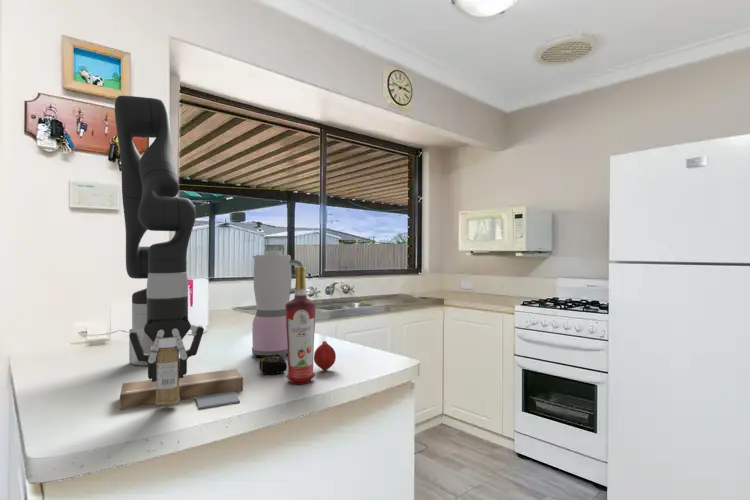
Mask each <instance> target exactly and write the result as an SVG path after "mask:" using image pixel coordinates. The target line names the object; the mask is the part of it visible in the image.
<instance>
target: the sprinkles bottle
mask: <svg viewBox="0 0 750 500" xmlns="http://www.w3.org/2000/svg"><path fill="white" fill-rule="evenodd" d="M177 340H178V339H177ZM157 342H159V350H158V353H157V356H156V401H155V403H156V404H155V405H158V406H170V405H174V404H176V403H178V402H180V401H181V400H180V397H179V384H180V378H179V358H180V354H179V351H178V348H177V345H176V338H174V337H167V338H162V339H160V340H159V341H157ZM179 344H180V343H179ZM156 346H157V345H156Z"/></svg>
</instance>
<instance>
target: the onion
mask: <svg viewBox="0 0 750 500" xmlns="http://www.w3.org/2000/svg"><path fill="white" fill-rule="evenodd" d="M336 357H337V356H336V351H335V349H334V348H333V347H332V346H331V345H330V344H328V342H327V341H326V340H324V341H322V344H321V345H319V346H317V348H316V349H315V350H314V353H313V363H315V365H316V366H317V367H318V368H320V369H321V370H322V371H323V372H326V371H328V370H329V369H330V368H332V367H333V365H334V364H335V362H336Z"/></svg>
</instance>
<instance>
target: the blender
mask: <svg viewBox="0 0 750 500" xmlns="http://www.w3.org/2000/svg"><path fill="white" fill-rule="evenodd" d="M252 258H253V260H254V261H253V291H254V299H255V304H256V313H255V315H254V318H253V321H252V328H251V330H252V332H251V333H252V337H251V338H252V339H251V340H252V348H251V349H252V350H251V353H252V358H257V357H258V356H257V355H259V356H278V357H280V356H282V357H283V358H284V359H285V358H287V354H288V346H287V329H286V308H285V305H286V304H287V303H288V302H289V301H291V295H295V287H292V266H293V267H294V266H295V267H304V266H303V263H302V262H301V261H300V260H298V259H297V260H296V259H292V258H291V255H290V254H282V250H264V252H263V254H256V255H252Z"/></svg>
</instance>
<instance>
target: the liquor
mask: <svg viewBox="0 0 750 500" xmlns="http://www.w3.org/2000/svg"><path fill="white" fill-rule="evenodd" d="M294 276H295V287H294V288H295V293H294V297H293V299H290V300H289V302H288V303H287V304H286V305H285V308H286V329H287V346H288V353H287V375H286V379H287V380H288V381H290V382H291V383H292V384H294V385H304V384H308V383H310V382H311V381H312V380H313V379H314V378H315V377H316V374H315V373H314V353H315V350H314V349H315V346H314V345H315V329H316V307H317V305H316V303H315V301H313V300H311V299H309V298H308V297H307V287H306V286H307V285H306V277H307V266H303V267H297V266H295V267H294Z"/></svg>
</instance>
